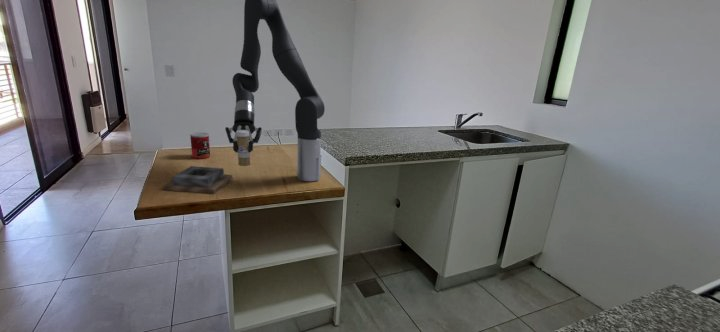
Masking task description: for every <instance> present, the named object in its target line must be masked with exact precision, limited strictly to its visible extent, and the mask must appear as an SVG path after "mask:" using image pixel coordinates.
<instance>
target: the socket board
mask: <svg viewBox="0 0 720 332" xmlns="http://www.w3.org/2000/svg"><path fill="white" fill-rule="evenodd" d="M224 171H225V170H224V168H222V167H220V168H219V167H210V166H209V167H208V166H207V167H205V166H195V165H192V166H191V165H190V166H189V167H187V168H186V169H184V170H182V171H180V172H178V173H176V174H175V175H173V176H172V180H171V181H168V182H166V184H164V185H163V186H162V187H163V190H164V191H175V192H176V191H177V192H188V193H190V192H191V193H203V194H204V193H205V194H215V193H217V192H218V191H219V190H220V189H222V188H223V187H224V186H225V185H226V184H228V183H229V182H230V181H232V180H233V178H234V177H233V174H225V172H224Z"/></svg>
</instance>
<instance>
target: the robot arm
mask: <svg viewBox="0 0 720 332" xmlns="http://www.w3.org/2000/svg"><path fill="white" fill-rule="evenodd" d="M243 7H244V9H243V10H244V11H243V18H244V20H243V44H242V45H243V46H242V51H241V57H240V62H239V63H240V64H239V66H240V68H241V69H243V70H244V71H246V72H248V73H250V74H247V73H242V72H237V73H235V74H234V75H233V77H232V86H233V89H234V90H233V91H234V92H235V93H234V94H235V107H234V119H233V120H234V121H233V125H232V126H231V127H227V126H226V127H225V133H226V136H227V139H228V142H229V144H232V149H233V152H235V153H237V154H238V146H237V136H236V131H238V130H248V131H249V152H250V153H251V152H253V150H254V144H259V141H260V138H261V135H262V133H263V129H262V127H257V126H255V115H256V114H255V95H254V94H253V93H256V92H257V91H258V90H259V88H260V87H259V86H260V83H259V64H260V59H261V55H262V51H261V49H262V48H261V43H260V40H259V35H258V30H259V29H258V28H259V24H260V20H264V22H265V23H266V24H267V26H268V28H269V31H270V33H271V37H272V39H271V40H272V41H271V42H272V43H271V51H272V56H273V58H274V61H275V63H276V65H277V67H278V69H279V70H280V72H281V74H282V75H283V76H284V78H286V80H287V81H288V82H289V83H290V84H291V85H292V86H293V87H294V89H295V90H296V92H297V94H298V96H299V98H300V99H298V101H297V102H296V104H295V107H294V108H295V109H294V116H295V117H294V118H295V120H294V121H295V130H296V133H297V158H296V159H297V160H296V161H297V165H296V167H297V168H296V169H297V170H296V171H297V173H296V174H297V175H296V177H297V178H296V179H298V180H299V181H301V182H302V181H303V182H319V181H320V178H321V174H322V173H321V172H322V169H321V168H322V155H321V144H322V132H321V130H320V129H319V127H318V119H321V118H322V117H323V116H324V113H325V109H326V108H325V103H324V101H323V99H322V98H321V96H320V95H319V92H318V91H317V89H316V88H315V86H314V84H313V82H312V80H311V78H310V76H309V73H308V71H307V70H306V67H305V65H304V63H303V60H302V58H301V56H300V53H299V52H298V50H297V47H296V46H295V44H294V42H293V39H292V37H291V34H290V32H289V31H288V28H287V26H286V23H285V21H284V17H283V16H282V12H281V9H280V7H279V4H278V2H277V0H244V6H243ZM233 132H234V133H235V134H234V137H233V138H232V134H233ZM254 132H255V136H254V137H253V136H252V135H253V134H254Z"/></svg>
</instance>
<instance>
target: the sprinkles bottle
mask: <svg viewBox="0 0 720 332" xmlns="http://www.w3.org/2000/svg"><path fill="white" fill-rule="evenodd" d="M235 134H236V136H237V146H238V152H237V158H238V166H240V167H248V166H250V165H251V154H250V153H251V152H249V142H250V141H249V131H248V130H238V131H236V133H235Z"/></svg>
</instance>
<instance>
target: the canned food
mask: <svg viewBox="0 0 720 332" xmlns="http://www.w3.org/2000/svg"><path fill="white" fill-rule="evenodd" d="M209 135H210V134H209V133H207V132H201V131H200V132H199V131H198V132H192V133H190V135H189V136H190V147H191V156H192V158H193V159H195V160H206V159H209V158H210V157H211V150H210V148H211V147H210V136H209Z"/></svg>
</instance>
